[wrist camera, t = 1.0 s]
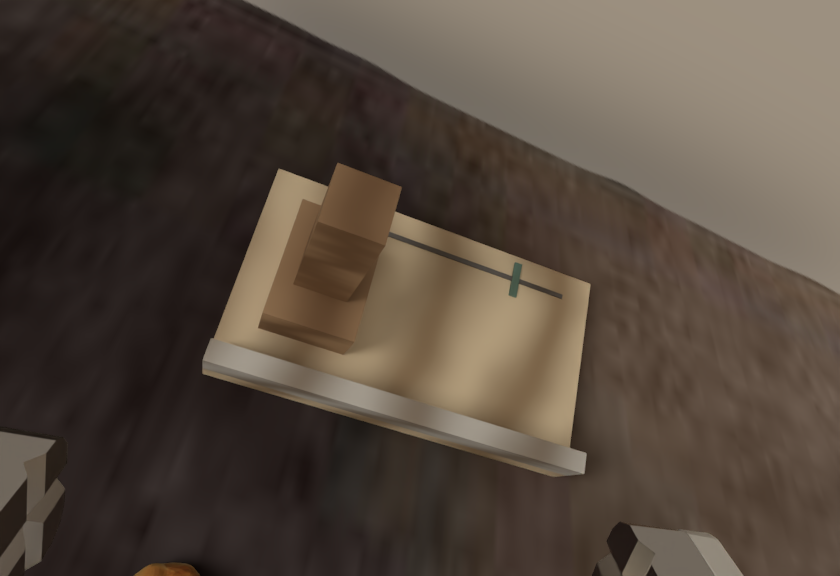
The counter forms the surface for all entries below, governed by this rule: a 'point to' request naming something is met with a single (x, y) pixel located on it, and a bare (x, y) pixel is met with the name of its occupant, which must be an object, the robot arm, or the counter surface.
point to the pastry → (168, 570)
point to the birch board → (424, 341)
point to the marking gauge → (331, 261)
